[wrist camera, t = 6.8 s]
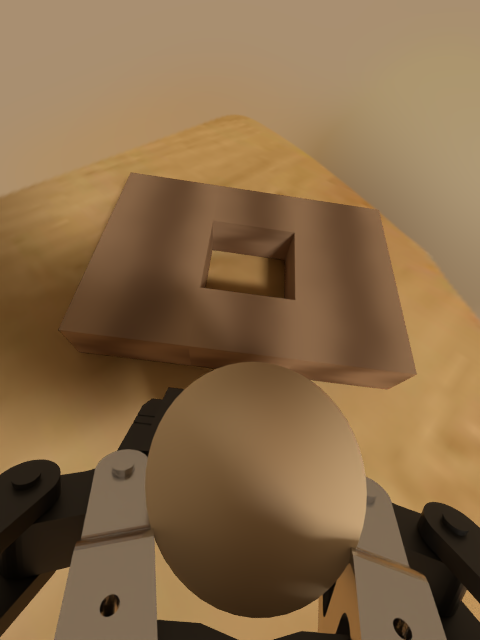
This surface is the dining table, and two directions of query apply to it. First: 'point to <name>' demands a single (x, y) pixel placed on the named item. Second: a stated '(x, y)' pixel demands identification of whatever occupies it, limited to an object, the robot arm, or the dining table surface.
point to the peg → (255, 489)
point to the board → (240, 308)
